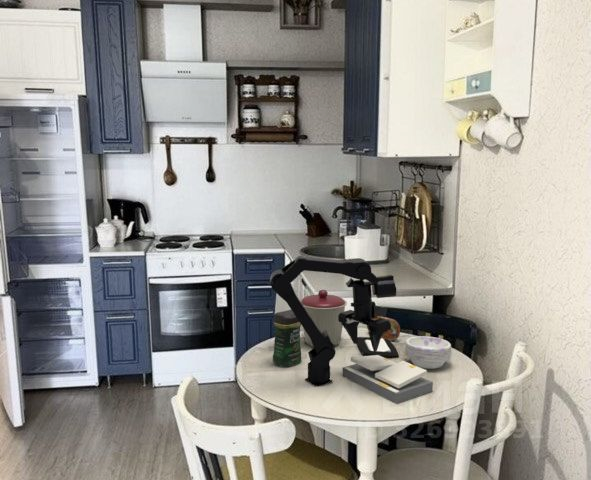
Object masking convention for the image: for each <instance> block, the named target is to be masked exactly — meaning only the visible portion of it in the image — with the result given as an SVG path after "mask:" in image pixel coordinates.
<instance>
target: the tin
mask: <svg viewBox="0 0 591 480" xmlns="http://www.w3.org/2000/svg"><path fill="white" fill-rule="evenodd" d="M380 318H382V319H385V320H389V321H390V322H391V329H390V330H388V331H387V332H384V333H383V335H382V337H381V338H383V339H388V340H389V341H390V342H391V341H394V340H398V338H399V337H400V335H401V327H400V324H399V322H398V321H397V320H396V319H393V318H389V317H387V316H385V318H383V317H381V316H377V318H375V319H374V318H373V319H372V320H377V319H380ZM366 327H367V331H368V332H370V330H369V329H368V325H366Z"/></svg>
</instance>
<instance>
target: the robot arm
mask: <svg viewBox="0 0 591 480" xmlns="http://www.w3.org/2000/svg"><path fill="white" fill-rule="evenodd" d="M304 271H305V272H306V271H308V272H316V273H317V272H318V273H326V274H327V273H329V274H340V275H343V276H347V277H349V280H348V281H347V282H346V283H345V285H346V287H347V288H352V300H353V302H351V303H350V307H353V310H352V309H348V310H345V311H344V312H341V313H340V314H339V316H338V321H339V322H342V323H341V325H343V328H344V330H345V331H346V333H347V334H348V336H349V337H350V340H351V341H352V343H353V345H357V340H358V337H359V336H358V335H359V334H358V327H359V324H362V325H366V326H367V325H368V329H369V330H370V332H369V331H368V332H367V333H368V336H369V337H370V340H371V344H372V347H373V350H374V351H377V349H378V346H379V343H380V339H381V337H382V335H383V333H384V332H387V331H388V330H390V329H391V322H390V321H389V320H385V319H382V318H380V319H377V320H372V319H373V318H374V319H375V318H377V316H381V317H383V318H385V317H387V310H388V307H384V306H381V305H376V303H375V301H373V299H372V295H373V296H376V298H377V299H381V298H382V299H383V298H391V297H396V296H397V287H396V286H397V285H396V282H395V279H394V278H395V277H394V275H393V274H387V275H379V276H376V274H375V273H373V272H372V266H371V264H370V263H369V262H367V261H366V260H365V259H364V258H361V257H359V258H358V257H357V258H348V259H343V260H340V259H339V260H338V259H329V258H327V259H326V258H320V257H307V256H303V255H299V256H297V257H295V259H293V260H292V261H290V262H289V263H287V264H286V265H285V266H283V267H282V268H280V269H276V270H274V271H273V272H272V273H271V274H270V277H269V281H270V286H271V289H272V291H274V292H275V293H276V294H278V295H279V296H280V297H281V298H282V299H283V300H285V301H286V302H287V304H288V305H289V307H290V308H291V310H292V311H293V313H294V314H295V316H296V317H297V319H298V320H299V322H300V323H301V327H302V329H303V328H304V329H305V331H306V332H307V334H308V335H309V337H310V339H311V341H312V344H313V346H314V347H313V346H312V348H311V349H310V350H309V351H308V353H307V354H308V357H309V362H307V377H306V378H304V381H305V382H307V383H309V384H311V385H312V386H314V387H317V388H318V387H321V386H325V385H327V384H331V383H333V380H332V379H331V366H330V362H331V361H332V360H333V359H334V358H335V356H336V349H335V347H336V346H335V344H334V342H333V339H332V338H330V337H329V335H328V333H327V331H326V330H325V331H324V332H322V331H321V330H319V329H318V327H317V326H316V324H315V323H314V321H313V320H312V318H311V316H310V315H309V313H308V312H307V310H306V309H305V307H304V306H303V304H302V303H301V301H300V300H301V299H299V297H298V295H297V294H296V292H295V289H294V287H293V285H292V282H293V281H295V280H296V279H297V278H298V276H300V275H301V274H302V273H303V272H304ZM364 280H366V281H364ZM368 329H367V330H368Z"/></svg>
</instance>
